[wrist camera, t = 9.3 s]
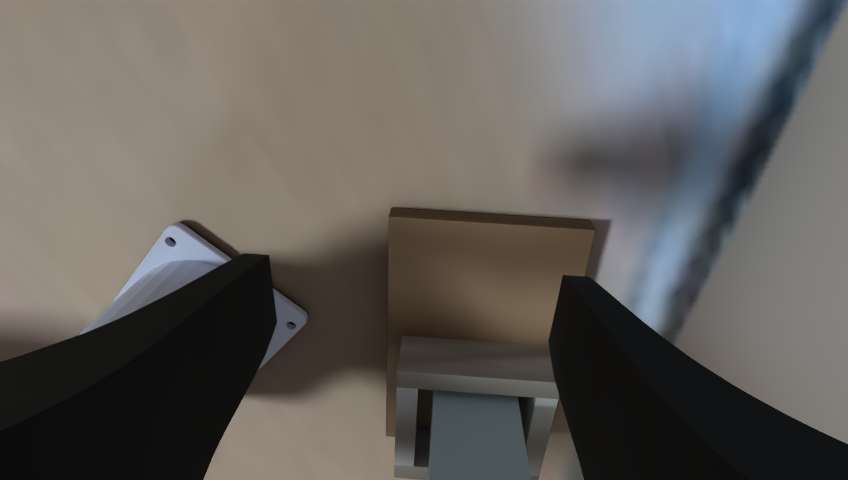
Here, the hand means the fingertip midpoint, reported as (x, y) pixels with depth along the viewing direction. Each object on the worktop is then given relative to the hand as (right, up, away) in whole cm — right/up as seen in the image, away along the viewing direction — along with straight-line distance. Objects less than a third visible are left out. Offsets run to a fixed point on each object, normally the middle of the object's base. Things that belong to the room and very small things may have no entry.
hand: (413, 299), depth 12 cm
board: (+3, -4, +13) cm, 14 cm away
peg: (+3, -7, +13) cm, 15 cm away
